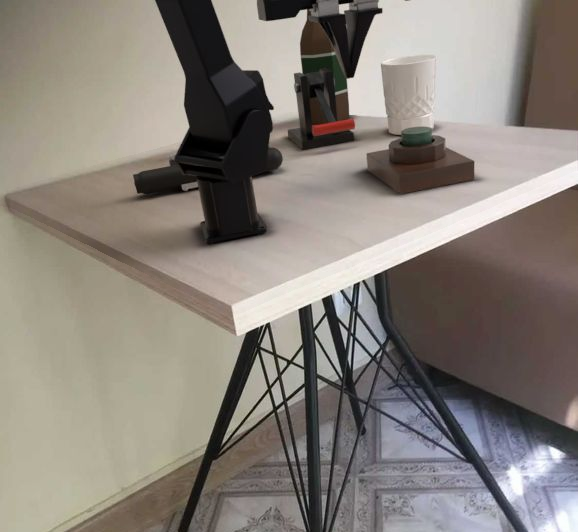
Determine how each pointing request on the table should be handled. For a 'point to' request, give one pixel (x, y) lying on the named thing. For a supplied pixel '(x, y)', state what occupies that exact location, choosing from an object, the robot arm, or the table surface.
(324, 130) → the lever
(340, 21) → the robot arm
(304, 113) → the bracket
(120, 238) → the table surface
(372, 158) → the button block
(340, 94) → the beer bottle
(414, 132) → the button
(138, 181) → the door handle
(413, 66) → the white cup
